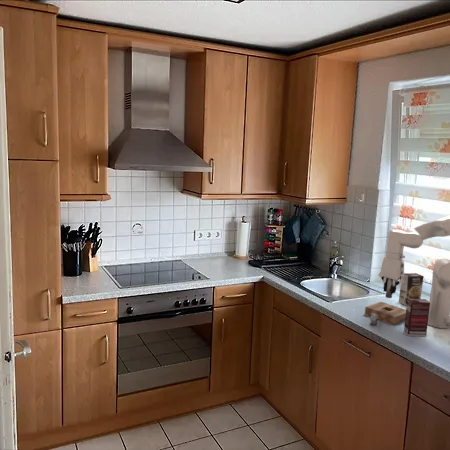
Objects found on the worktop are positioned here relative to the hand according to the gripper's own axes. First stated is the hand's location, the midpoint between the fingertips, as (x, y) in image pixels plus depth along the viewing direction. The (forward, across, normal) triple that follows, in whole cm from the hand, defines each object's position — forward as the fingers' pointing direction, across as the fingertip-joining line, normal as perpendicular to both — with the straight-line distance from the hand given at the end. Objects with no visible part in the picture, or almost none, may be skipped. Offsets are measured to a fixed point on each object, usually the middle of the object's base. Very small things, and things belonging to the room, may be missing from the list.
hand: (389, 291), depth 227 cm
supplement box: (+13, -19, +9) cm, 25 cm away
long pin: (+3, 0, 0) cm, 3 cm away
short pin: (+13, -2, +15) cm, 20 cm away
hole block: (+13, 0, 0) cm, 13 cm away
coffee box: (+13, +4, -29) cm, 32 cm away
